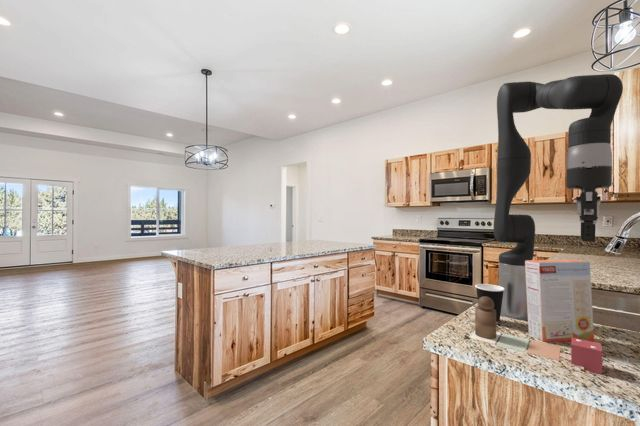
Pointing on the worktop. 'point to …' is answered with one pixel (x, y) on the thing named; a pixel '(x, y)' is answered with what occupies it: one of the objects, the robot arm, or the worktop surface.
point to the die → (587, 355)
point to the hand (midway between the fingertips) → (587, 239)
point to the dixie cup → (492, 296)
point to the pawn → (485, 318)
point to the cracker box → (559, 300)
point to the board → (523, 345)
